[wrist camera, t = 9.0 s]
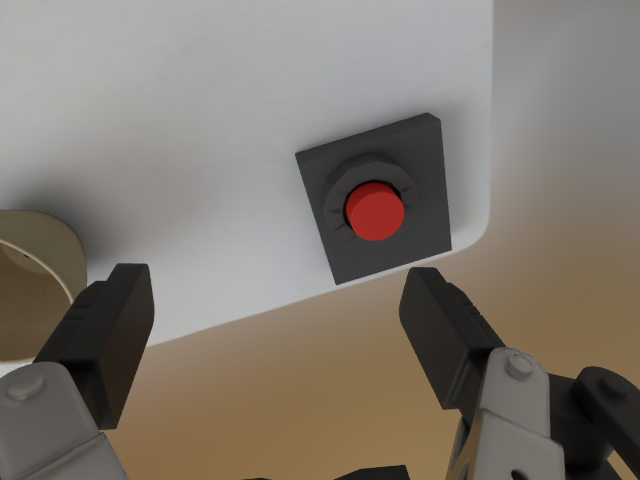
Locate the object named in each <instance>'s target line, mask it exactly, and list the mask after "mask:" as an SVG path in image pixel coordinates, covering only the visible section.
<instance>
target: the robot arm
mask: <svg viewBox="0 0 640 480" xmlns="http://www.w3.org/2000/svg"><path fill="white" fill-rule="evenodd" d="M399 317H400V321H401V324H402V326H403V328H404V330H405V332H406V334H407V337H408V339H409V341H410V343H411V345H412V347H413V349H414V351H415V353H416V355H417V357H418V359H419V361H420V363H421V365H422V367H423V369H424V372H425V374H426V376H427V378H428V380H429V382H430V384H431V386H432V388H433V390H434V392H435V394H436V396H437V398H438V401H439V403H440V405H441V407H442V409H443V410H447V409H459V410H460V412H461V414H462V417H461V419H460V421H459V424H458V428H457V432H456V436H455V441H454V445H453V449H452V453H451V458H450V462H449V466H448V470H447V474H446V478H445V480H622V479H621V478H620V477H619V475H618V474H617V473H616V471H615V470H614V469H613V467H612V466H611V465H610V463H609V462H608V461H607V458H608V457H609V456H610V454H611V453H612V452H613V451H614V450H615V451H616V452H617V453H618V455H619V456H620V457H621V458H622V459H623V461H624V462H625V463H626V465H627V466H628V467H629V468H630V470H631V471H632V472H633V473H634V475H635V476H636V477H637V479H638V480H640V390H639V389H638V388H637V387H636V386H634V385H633V384H632V383H631V382H629V381H628V380H627V379H625V378H624V377H622V376H620V375H618V374H616V373H614V372H612V371H610V370H607V369H604V368H601V367H593V366H591V367H585V368H584V369H583V370H582V371H581V372H580V374H579V375H578V377H577V378H576V379H572V378H567V377H563V376H558V375H554V374H549V373H547V372H546V370H545V369H544V368H543V366H542V365H541V364H540V363H539V362H538V361H537V360H535V359H534V358H533V357H531V356H530V355H528V354H526V353H524V352H522V351H520V350H517V349H514V348H508V347H506V346H505V344H504V343H503V342H502V340H501V339H500V338H499V337H498V335H497V334H496V333H495V332H494V330H493V329H492V328H491V326H490V325H489V324H488V323H487V321H486V320H485V319H484V317H483V316H482V315H480V312H479V311H478V310H477V308H476V307H475V306H473V303H472V302H471V301H470V300H469V298H468V297H467V296H466V294H465V293H464V292H463V291H461V290H460V289H459V288H457V287H456V286H454V285H453V284H452V283H447V282H446V281H445V279H444V278H443V276H442V275H441V274H440V272H439V271H438V270H437V269H436V268H433V267H431V268H430V267H412V268H411V269H410V270H409V272H408V275H407V279H406V283H405V286H404V290H403V294H402V298H401V301H400V306H399ZM153 322H154V300H153V293H152V286H151V278H150V271H149V267H148V265H147V264H133V263H118V264H117V265H116V266H115V268H114V269H113V271H112V272H111V274H110V276H109V277H108V279H107V281H95V282H94V283H92V284H91V285H89V286H88V287H87V288H85V289H84V290H83V291H81V292H80V293H79V294H78V296H77V297H76V299H75V300H74V302H73V303H72V305H71V308H70V309H68V311H67V312H66V314H65V315H64V316H63V320H61V321H60V322H59V324H58V325H57V327H56V328H55V330H54V331H53V333H52V334H51V336H50V337H49V339H48V340H47V342H46V343H45V344H44V346H43V347H42V349H41V350H40V352H39V353H38V355H37V356H36V358H35V359H34V361H33V362H32V364H29V365H25V366H23V367H20V368H18V369H15V370H13V371H11V372H10V373H8V374H6V375H5V376H3V377H2V378H0V480H129V478H128V476H127V474H126V472H125V470H124V468H123V466H122V464H121V462H120V461H119V459H118V457H117V455H116V453H115V451H114V449H113V447H112V445H111V443H110V442H109V440H108V438H107V436H106V435H105V433H104V432H102V433H100V432H99V430H109V429H116V428H117V425H118V422H119V419H120V417H121V414H122V410H123V408H124V405H125V402H126V400H127V396H128V394H129V391H130V388H131V386H132V383H133V380H134V377H135V374H136V372H137V369H138V366H139V363H140V360H141V358H142V355H143V352H144V349H145V346H146V344H147V341H148V338H149V335H150V332H151V330H152V326H153ZM244 480H270V479H264V478H255V479H244ZM334 480H410V478H409V475H408V472H407V469H406V466H405V465H399V466H387V467H377V468H366V469H359V470H357V471H354V472H352V473H349V474H347V475H344V476H342V477H339V478H337V479H334Z"/></svg>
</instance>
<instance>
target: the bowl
mask: <svg viewBox="0 0 640 480" xmlns="http://www.w3.org/2000/svg"><path fill="white" fill-rule="evenodd" d="M85 288H87V266H86V259H85V255H84V251H83V248H82V246H81V243H80V241H79V239H78V237H77V236H76V234H75V233H74V231H73V230H72V229H71V228H70V227H69V226H68V225H67V224H65V223H64V222H62V221H61V220H59V219H57V218H55V217H53V216H50V215H47V214H44V213H39V212H32V211H24V210H0V364H20V363H26V362H31V361H34V359H35V358H36V356H37V355H38V353H39V352H40V350H41V349H42V347H43V346H44V344H45V343H46V342H47V340H48V339H49V337H50V336H51V334H52V333H53V331H54V330H55V328H56V327H57V325H58V324H59V322H60V321H61V320H63V316H64V315H65V314H66V312H67V311H68V309H70V308H71V305H72V303H73V302H74V300H75V299H76V297H77V296H78V294H79V293H80V292H81V291H83V290H84V289H85Z"/></svg>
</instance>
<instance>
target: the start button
mask: <svg viewBox="0 0 640 480" xmlns="http://www.w3.org/2000/svg"><path fill="white" fill-rule="evenodd" d="M346 214H347V217H348V219H349V222H350V224H351V226H352V228H353V230H354V232H355V233H356V234H357V235H358V236H359V237H361V238H363V239H366V240H370V241H377V240H382V239H385V238H387V237H389V236H391V235H392V234H393V233H395V232H396V231H397V230H398V228H399V227H400V225H401V224H402V221H403V218H404V207H403V204H402V202H401V200H400V199H399V198H398V197H397V195H396V194H395V193H394V192H393V190H392V189H391V188H390V187H389V186H387V185H385V184H383V183H378V182H371V183H366V184H364V185H362V186H360V187H358V188H357V189H356V190H354V191H353V193H352V194H351V195H350V197H349V199H348V201H347V204H346Z"/></svg>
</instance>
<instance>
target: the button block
mask: <svg viewBox="0 0 640 480" xmlns="http://www.w3.org/2000/svg"><path fill="white" fill-rule="evenodd" d="M295 156H296V159H297V163H298V166H299V170H300V173H301V176H302V179H303V182H304V185H305V189H306V192H307V195H308V198H309V201H310V204H311V208H312V211H313V214H314V217H315V220H316V223H317V227H318V230H319V233H320V236H321V239H322V243H323V246H324V249H325V252H326V255H327V258H328V262H329V265H330V268H331V271H332V274H333V277H334V281H335V284H336V285H339V284H342V283H345V282H349V281H352V280H355V279H358V278H362V277H365V276H368V275H372V274H375V273H378V272H381V271H385V270H388V269H391V268H395V267H398V266H401V265H404V264H408V263H411V262H414V261H418V260H421V259H424V258H427V257H431V256H434V255H437V254H441V253H444V252H447V251H450V250H452V247H451V235H450V224H449V213H448V201H447V190H446V178H445V167H444V155H443V144H442V132H441V121H440V119H439V118H437V117H435V116H433V115H431V114H429V113H425V114H421V115H418V116H415V117H412V118H409V119H405V120H402V121H399V122H396V123H392V124H389V125H386V126H383V127H380V128H376V129H373V130H370V131H367V132H364V133H360V134H357V135H354V136H351V137H347V138H344V139H341V140H338V141H335V142H331V143H328V144H325V145H322V146H319V147H315V148H312V149H309V150H306V151H302V152H299V153H296V154H295ZM371 182H378V183H383V184H385V185H387V186H389V187H390V188H391V189H392V190H393V192H394V193H395V194H396V195H397V197H398V198H399V199H400V200H401V202H402V204H403V207H404V218H403V221H402V224H401V225H400V227H399V228H398V230H397V231H396V232H395V233H393V234H392V235H391V236H389V237H387V238H385V239H382V240H377V241H370V240H366V239H363V238H361V237H359V236H358V235H357V234H356V233H355V232H354V230H353V228H352V226H351V224H350V222H349V219H348V217H347V214H346V204H347V201H348V199H349V197H350V195H351V194H352V193H353V191H354V190H356V189H357V188H358V187H360V186H362V185H364V184H366V183H371Z"/></svg>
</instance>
